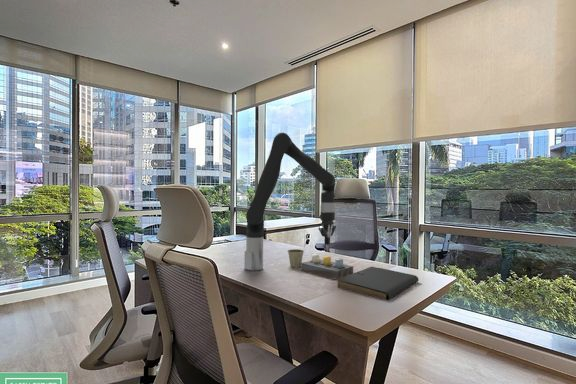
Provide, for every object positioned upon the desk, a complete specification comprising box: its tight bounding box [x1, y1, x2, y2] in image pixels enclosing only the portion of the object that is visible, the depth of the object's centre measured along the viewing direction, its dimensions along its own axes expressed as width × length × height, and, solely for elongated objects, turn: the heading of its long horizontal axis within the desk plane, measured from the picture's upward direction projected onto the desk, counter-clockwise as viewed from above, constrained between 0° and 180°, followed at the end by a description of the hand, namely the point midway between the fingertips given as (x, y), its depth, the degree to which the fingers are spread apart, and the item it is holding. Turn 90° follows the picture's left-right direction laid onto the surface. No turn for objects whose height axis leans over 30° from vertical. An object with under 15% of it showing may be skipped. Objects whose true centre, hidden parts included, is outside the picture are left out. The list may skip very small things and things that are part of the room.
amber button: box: [322, 255, 332, 266], centre depth 157 cm, size 4×4×5 cm
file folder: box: [336, 266, 420, 301], centre depth 138 cm, size 33×4×24 cm
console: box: [300, 258, 354, 281], centre depth 157 cm, size 14×23×4 cm, turn 47°
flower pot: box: [287, 248, 305, 268], centre depth 169 cm, size 9×9×9 cm
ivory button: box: [311, 253, 320, 264], centre depth 162 cm, size 4×4×5 cm
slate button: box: [334, 258, 344, 269], centre depth 152 cm, size 4×4×5 cm
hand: (327, 244), depth 157 cm, fingers closed
